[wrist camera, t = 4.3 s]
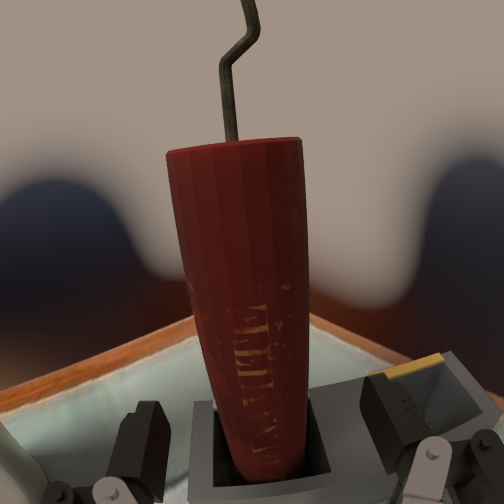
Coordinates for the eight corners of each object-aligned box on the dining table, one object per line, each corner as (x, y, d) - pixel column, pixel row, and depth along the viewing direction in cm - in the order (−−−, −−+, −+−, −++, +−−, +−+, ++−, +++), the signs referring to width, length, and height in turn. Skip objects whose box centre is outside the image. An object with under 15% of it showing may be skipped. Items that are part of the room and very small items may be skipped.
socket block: (211, 528, 15) (186, 498, 12) (211, 448, 23) (193, 399, 20) (467, 460, 16) (504, 410, 13) (430, 401, 24) (451, 348, 21)
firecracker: (245, 510, 16) (142, -12, 6) (238, 463, 21) (163, 36, 11) (308, 499, 17) (299, -22, 6) (295, 454, 22) (271, 26, 11)
